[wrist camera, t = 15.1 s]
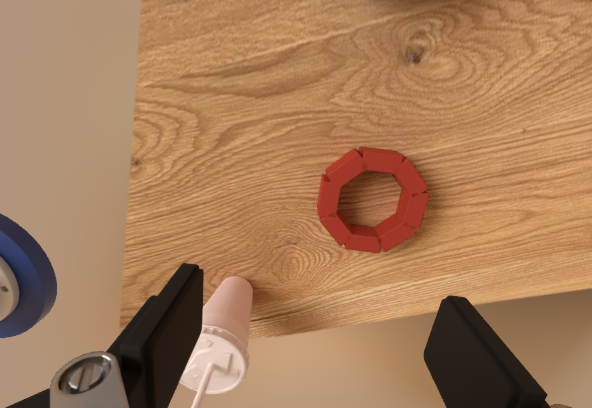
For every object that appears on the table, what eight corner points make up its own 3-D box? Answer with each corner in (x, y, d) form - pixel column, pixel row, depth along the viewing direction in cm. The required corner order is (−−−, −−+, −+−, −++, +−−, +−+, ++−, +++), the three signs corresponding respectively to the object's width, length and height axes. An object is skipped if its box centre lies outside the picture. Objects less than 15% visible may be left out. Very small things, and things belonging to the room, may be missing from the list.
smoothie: (276, 299, 32) (252, 438, 19) (230, 322, 33) (177, 467, 20) (242, 255, 30) (190, 373, 17) (195, 281, 32) (113, 410, 18)
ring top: (313, 234, 29) (313, 245, 27) (326, 142, 26) (328, 146, 24) (403, 245, 29) (411, 257, 27) (428, 154, 26) (439, 159, 24)
